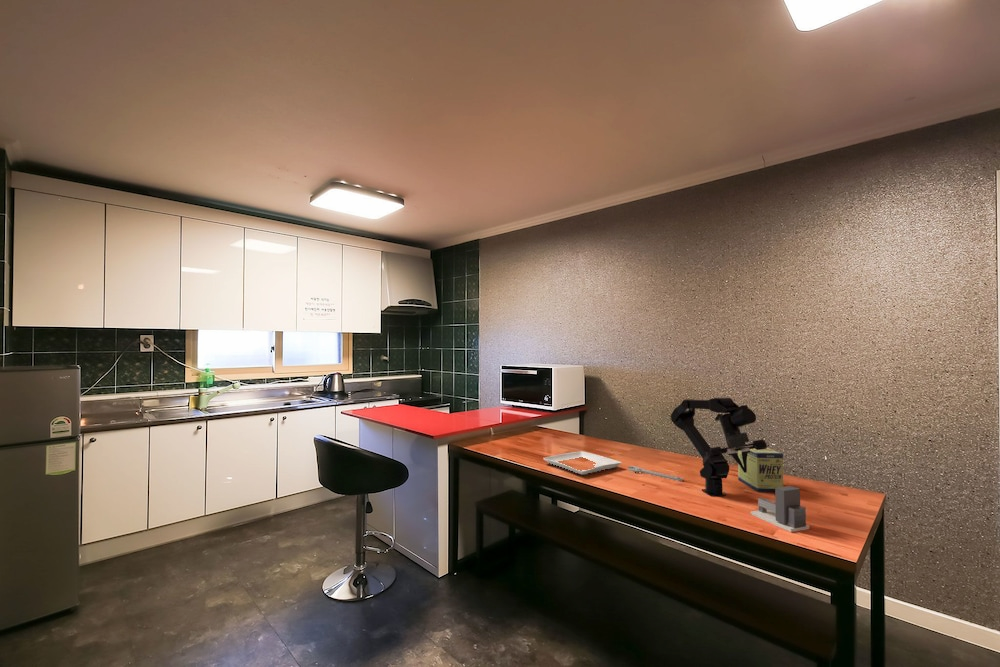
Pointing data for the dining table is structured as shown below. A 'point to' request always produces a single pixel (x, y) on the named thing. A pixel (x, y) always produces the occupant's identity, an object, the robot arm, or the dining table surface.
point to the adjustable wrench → (653, 473)
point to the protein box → (762, 470)
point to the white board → (771, 518)
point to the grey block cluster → (794, 512)
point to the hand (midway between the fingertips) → (745, 472)
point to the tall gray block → (785, 501)
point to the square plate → (600, 461)
